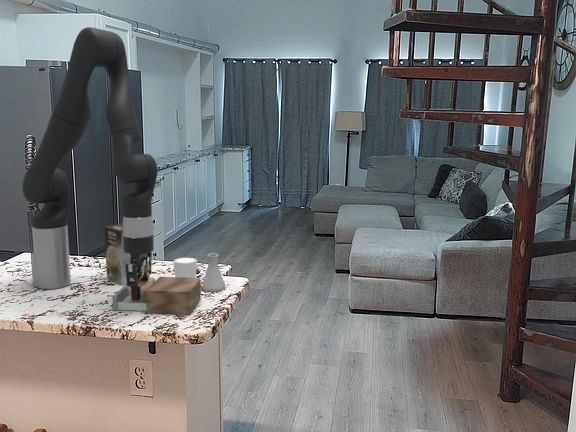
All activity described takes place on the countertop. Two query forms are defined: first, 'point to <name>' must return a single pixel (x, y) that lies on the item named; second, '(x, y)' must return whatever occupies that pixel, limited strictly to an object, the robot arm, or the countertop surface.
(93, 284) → the countertop surface
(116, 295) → the tray
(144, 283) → the coaster
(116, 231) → the coffee box
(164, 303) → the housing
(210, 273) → the flask
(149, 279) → the olive brown cube
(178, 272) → the white cup
